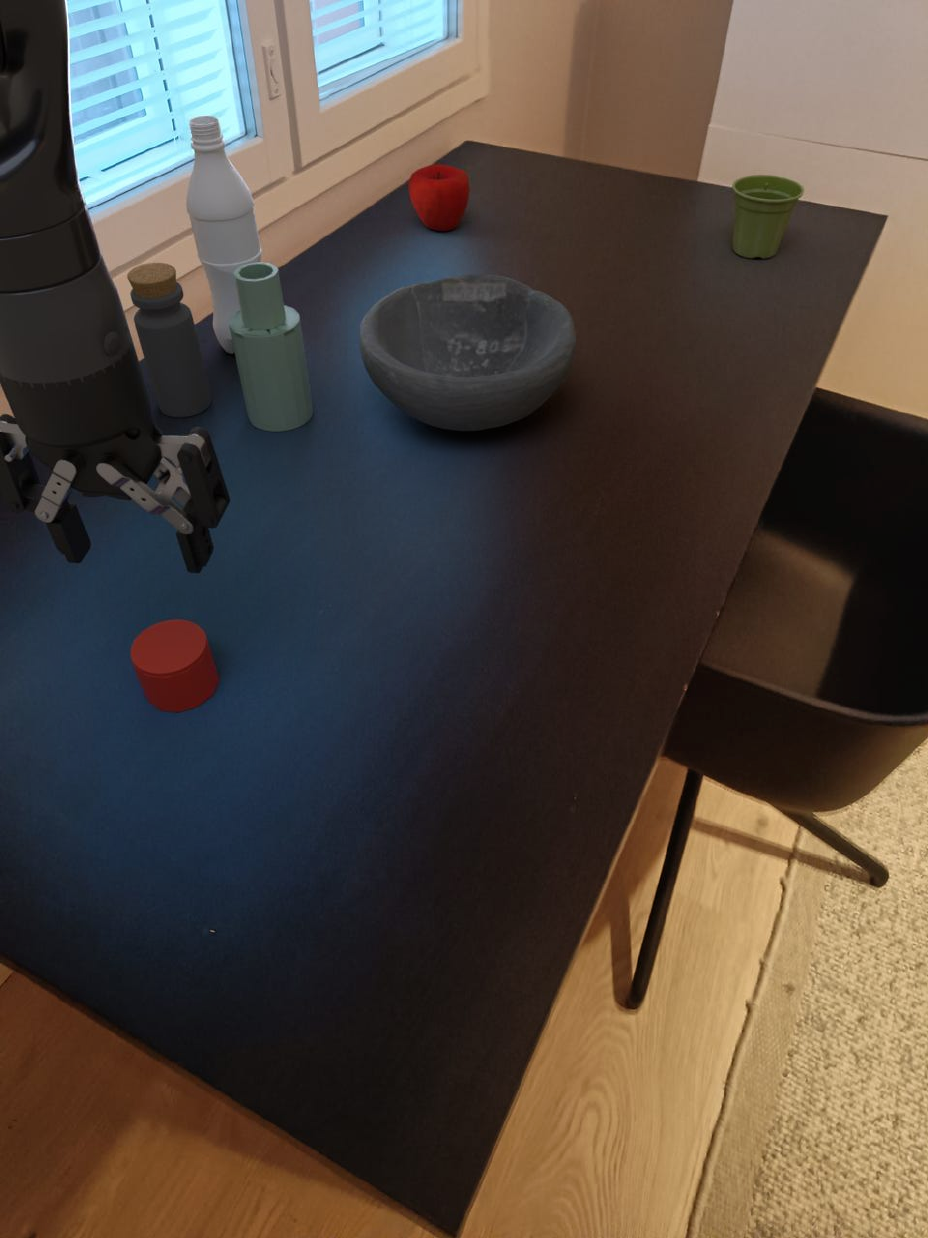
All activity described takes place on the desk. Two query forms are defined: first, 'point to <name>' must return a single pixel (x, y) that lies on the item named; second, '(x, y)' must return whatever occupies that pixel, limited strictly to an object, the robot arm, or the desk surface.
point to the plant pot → (762, 213)
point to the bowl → (467, 350)
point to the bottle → (169, 341)
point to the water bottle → (220, 221)
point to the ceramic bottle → (269, 351)
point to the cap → (174, 665)
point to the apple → (439, 195)
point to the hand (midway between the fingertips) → (139, 560)
